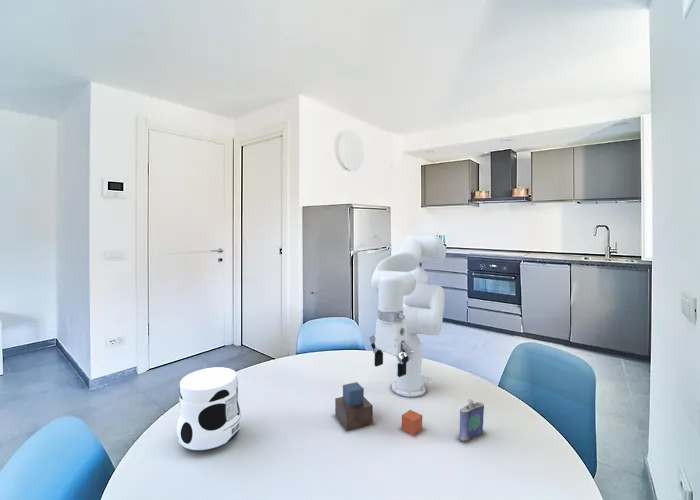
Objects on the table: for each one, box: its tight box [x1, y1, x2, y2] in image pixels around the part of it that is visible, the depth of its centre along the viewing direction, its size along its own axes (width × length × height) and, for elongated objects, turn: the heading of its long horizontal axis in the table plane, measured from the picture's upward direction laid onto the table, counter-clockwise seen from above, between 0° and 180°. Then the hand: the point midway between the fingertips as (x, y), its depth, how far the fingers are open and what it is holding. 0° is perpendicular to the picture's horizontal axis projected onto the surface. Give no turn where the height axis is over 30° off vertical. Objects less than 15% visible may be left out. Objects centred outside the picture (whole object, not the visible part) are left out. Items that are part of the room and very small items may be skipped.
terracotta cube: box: [401, 409, 423, 436], centre depth 103 cm, size 4×4×4 cm
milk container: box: [176, 366, 242, 452], centre depth 98 cm, size 17×17×18 cm
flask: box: [458, 398, 485, 443], centre depth 100 cm, size 9×3×11 cm, turn 121°
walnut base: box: [334, 396, 374, 432], centre depth 108 cm, size 9×9×6 cm
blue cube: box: [342, 381, 365, 407], centre depth 108 cm, size 5×5×5 cm
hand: (389, 370), depth 104 cm, fingers open, 9 cm apart
